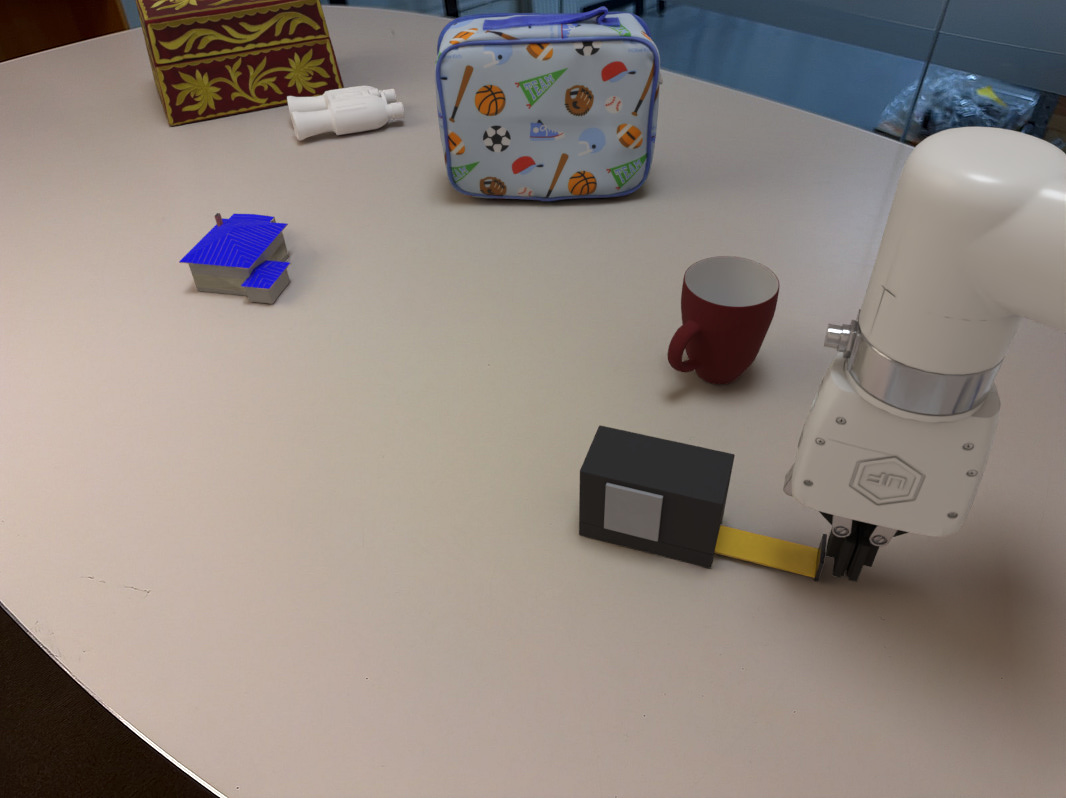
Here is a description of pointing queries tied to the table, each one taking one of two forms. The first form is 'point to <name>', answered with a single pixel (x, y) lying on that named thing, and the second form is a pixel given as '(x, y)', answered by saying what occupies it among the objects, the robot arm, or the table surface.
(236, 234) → the house
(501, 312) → the table surface
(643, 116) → the lunch box
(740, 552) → the tape blade
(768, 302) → the mug
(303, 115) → the binoculars
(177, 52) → the decorative box
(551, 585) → the table surface
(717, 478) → the tape case
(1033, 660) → the table surface
